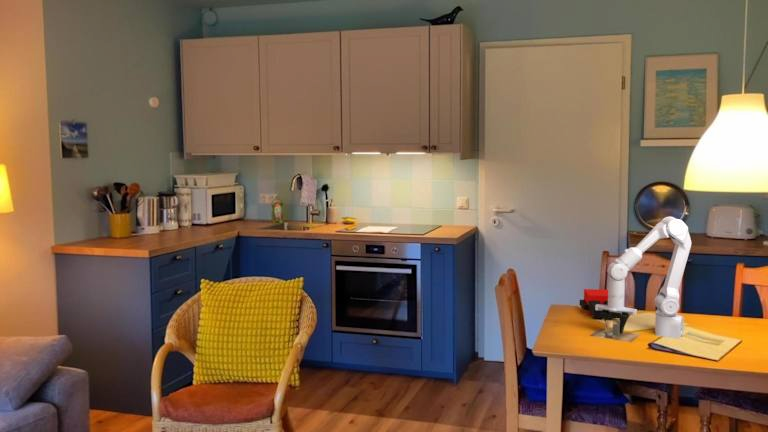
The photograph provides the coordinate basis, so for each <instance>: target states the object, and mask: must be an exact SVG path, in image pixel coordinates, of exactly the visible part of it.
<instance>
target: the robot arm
mask: <svg viewBox="0 0 768 432" xmlns="http://www.w3.org/2000/svg"><path fill="white" fill-rule="evenodd" d="M668 238H670V239H671V240H672V242H673V243H674V248H673V251H672V255H671V259H670V262H669V265H668V270H667V272H666V276H665V279H664V280H665V281H664V284H663V286H662V287H661V288H660V289H659V292H658V294H657V295H656V296H655V298H654V305H655V307H656V308H657V309H656V310H655V325H654V326H655V327H654V334H655V336H658V337H660V338H673V339H680V340H681V338H682V337H683V336H684V330H685V329H684V328H685V319H684V316H682V315H680V314H678V312H679V310H680V302H679V300H680V292H679V290H680V287H681V284H682V283H681V282H682V279H683V275H684V272H685V268H686V264H687V261H688V259H689V258H688V257H689V255H690V251H691V248H692V240H691V239H692V238H691V235H690V233H689V227H688V225H687V224H686V223H685V222H684V221H683V220H682V219H678V218H676V217H674V216H666V217H664V218H663V219H661V221H659V222H658V223H656V225H655V226H654V227H652V229H651V230H650V231H649V232H648V233H647V235H645V236H644V237H643V238H642V240H641V241H640V242H639V243H638V244H637V245H636V246H634V247H629V248H625V249H624V250H623V251H624V253H622V254H621V255H620V256H619V257H618V258H615V259H614V262H612V263H610V264H609V265H608V267H607V269H606V272H607V274H608V284H607V285H608V288H607V290H608V305H601V304H597V305H595V310H602V313H601V314H602V316H603V318H602V319H603V320H604V322H605V321H606V320H612V318H611V315H612V312H616V313H621V314H620V315H619V317H620V318H619V321H620V333H623V332H624V331H625V330H624V329H625V326H626V324H627V321H628V319H629V318H630V315H632V316H637V313H638V309H637V308H631V307H627V306H625V291H626V290H625V288H626V287H625V286H626V283H625V281H626V278H627V276H628V274H629V273H628V272H629V271H630V270H632V269H633V268H634V267H635V266H636V265H637V264H638V263H639V262H640V261H641V260H642V259H643V254H644V253H645V252H646V251H648V249H650V248H651V247H652V246H653V245H654V244H655V243H656V242H658V241H659V240H661V239H668Z"/></svg>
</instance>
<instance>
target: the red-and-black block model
mask: <svg viewBox="0 0 768 432" xmlns="http://www.w3.org/2000/svg"><path fill="white" fill-rule="evenodd" d="M597 304H601V305H608V289H605V288H604V289H601V288H600V289H598V288H597V289H593V288H592V289H591V288H589V289H587V288H584V289H583V299H579V306H580V307H581V309H582V310H583V311H585V312H586V314H587V315H588V316H592V317H593V318H595V319H604V318H603V316H602V314H601V313H602V310H595V305H597ZM620 314H622V313H616V312H612V315H611V319H620V317H619V315H620Z"/></svg>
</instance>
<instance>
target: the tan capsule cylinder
mask: <svg viewBox="0 0 768 432" xmlns="http://www.w3.org/2000/svg"><path fill="white" fill-rule="evenodd" d="M612 320H613V319H611V320H606V321H604V323H605V325H604V329H605V338H604V339H607V338H613V321H612Z"/></svg>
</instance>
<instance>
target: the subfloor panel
mask: <svg viewBox="0 0 768 432" xmlns="http://www.w3.org/2000/svg"><path fill="white" fill-rule="evenodd" d="M640 336H641V334H640V333H634V332H627V331H623V333H621V334H620V335H619V336H615V335H613V338H605V328H599V329H597V330H595V331H594V332H592V333H591V334H590V335H589V337H596V338H601V339H607V340H615V341H619V342H620V341H621V342H626V343H627V342H628V343H632V342H633V341H635V340H636V339H637V338H638V337H640Z"/></svg>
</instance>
